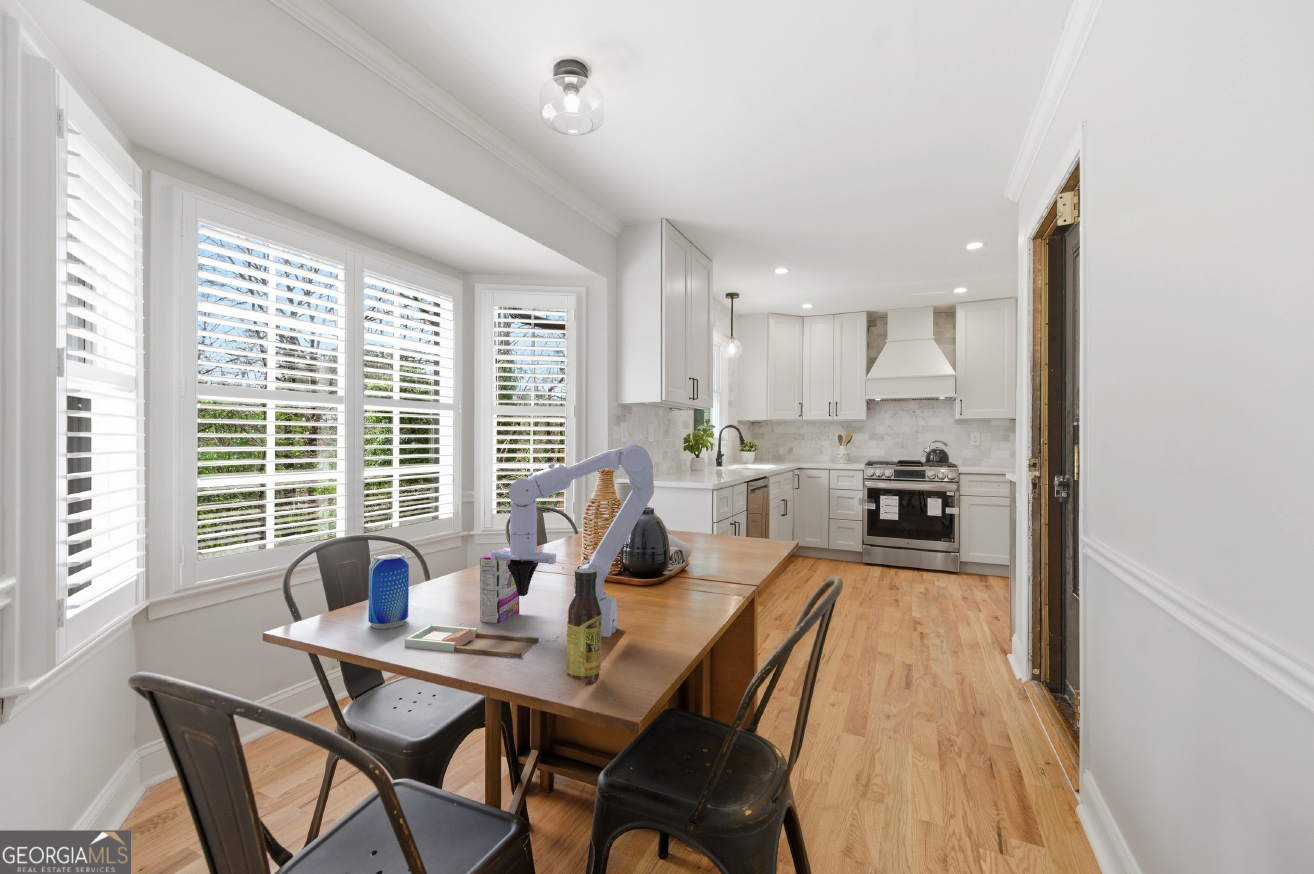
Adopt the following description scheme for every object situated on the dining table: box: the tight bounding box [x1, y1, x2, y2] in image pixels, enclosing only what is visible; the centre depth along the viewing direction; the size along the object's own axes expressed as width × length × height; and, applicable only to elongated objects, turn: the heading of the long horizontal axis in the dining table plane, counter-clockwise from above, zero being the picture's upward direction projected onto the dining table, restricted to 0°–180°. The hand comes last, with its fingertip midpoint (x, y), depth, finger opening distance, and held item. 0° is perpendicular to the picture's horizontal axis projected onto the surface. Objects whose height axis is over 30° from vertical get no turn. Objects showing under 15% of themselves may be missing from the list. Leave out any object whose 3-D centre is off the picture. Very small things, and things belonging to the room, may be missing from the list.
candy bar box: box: [479, 547, 520, 624], centre depth 135 cm, size 11×5×16 cm, turn 168°
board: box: [453, 631, 540, 659], centre depth 115 cm, size 14×9×2 cm, turn 78°
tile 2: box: [442, 629, 474, 646], centre depth 117 cm, size 4×4×2 cm
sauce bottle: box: [565, 568, 602, 686], centre depth 104 cm, size 6×6×20 cm
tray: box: [404, 624, 478, 652], centre depth 118 cm, size 11×9×3 cm
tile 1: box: [421, 631, 453, 641], centre depth 118 cm, size 4×4×2 cm
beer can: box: [367, 552, 410, 630], centre depth 132 cm, size 8×8×16 cm
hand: (522, 594), depth 124 cm, fingers closed
